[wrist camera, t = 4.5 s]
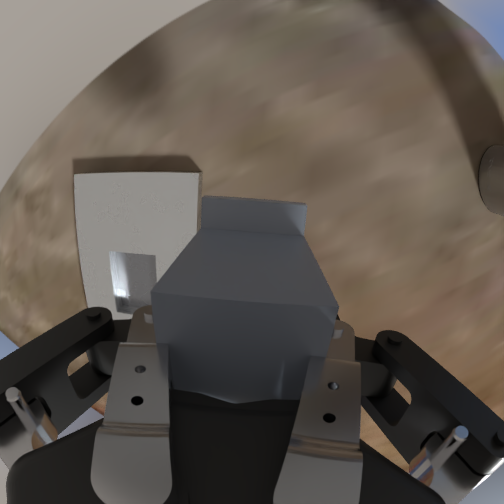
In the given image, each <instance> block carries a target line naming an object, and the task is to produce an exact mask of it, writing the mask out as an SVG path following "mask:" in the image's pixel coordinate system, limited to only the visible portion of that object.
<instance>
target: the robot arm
mask: <svg viewBox="0 0 504 504" xmlns="http://www.w3.org/2000/svg"><path fill="white" fill-rule="evenodd" d="M479 187H480V192H481V196H482V199H483V201H484V203H485V205H486V207H487V208H488V209H489V210H490V211H492V212H493V213H496V214H499V215H501V216H504V146H500V145H494V146H491V147H490V148H488V150H487V151H486V152H485V154H484V156H483V158H482V161H481V164H480V170H479ZM84 352H86V353H87V357H88V360H89V362H88V363H87V364H85V365H84V366H82V367H81V368H80V369H78V370H77V371H76V372H74V373H73V374H72V375H70V376H69V377H68V374H67V368H68V366H69V364H70V363H71V362H72V361H73V360H74V359H76V358H77V357H78V356H80V355H81V354H83V353H84ZM397 379H398V380H399V381H400V382H401V383H402V384H403V385H404V386H405V387H406V388H407V389H408V390H409V392H410V394H411V398H412V400H411V404H410V405H409V404H408V403H407V402H406V400H405V399H404V398H403V397H402V396H401V395H400V394H399V393H398V392H397V391H396V390H395V389H394V388H393V387H394V385H395V383H396V381H397ZM108 391H109V392H108ZM107 392H108V397H107V403H106V408H105V414H104V418H102V419H100V420H98V421H96V422H94V423H92V424H90V425H88V426H86V427H84V428H82V429H80V430H77V431H75V432H73V433H71V434H69V435H67V436H65V437H62V438H60V439H58V440H57V437H58V435H59V434H60V433H61V432H62V431H63V430H64V429H66V428H67V427H68V426H69V425H70V424H71V423H72V422H74V421H75V420H76V419H77V418H78V417H79V416H80V415H82V414H83V413H84V412H85V411H86V410H88V409H89V408H90V407H91V406H92V405H93V404H94V403H96V402H97V401H98V400H99V399H100V398H101V397H102V396H104V395H105V394H106V393H107ZM361 405H362V407H363V408H364V409H365V410H366V412H367V413H368V414H369V415H370V417H371V418H372V419H373V420H374V422H375V423H376V424H377V425H378V427H379V428H380V429H381V430H382V432H383V433H384V434H385V435H386V437H387V438H388V439H389V440H390V442H391V443H392V444H393V445H394V447H395V448H396V449H397V450H398V452H399V453H400V454H401V455H402V456H403V458H404V459H405V460H406V461H407V463H408V464H409V473H410V474H408V473H407V472H405V471H404V470H403V469H401V468H400V467H398V466H397V465H395V464H394V463H392V462H391V461H390V460H388V459H387V458H385V457H384V456H383V455H381V454H380V453H379V452H377V451H376V450H374V449H373V448H372V447H370V446H369V445H368V444H366V443H365V442H364V441H362V440H361V439H360V419H361ZM0 458H1V459H2V461H3V462H4V463H5V465H6V466H7V467H8V469H9V473H8V476H7V482H6V492H7V504H458V503H459V502H460V501H461V500H462V499H463V498H464V497H465V496H466V495H467V494H468V493H470V492H471V491H472V490H473V489H474V488H476V487H477V486H478V485H480V484H481V483H482V482H483V481H484V480H485V479H487V478H488V477H489V476H490V475H491V474H492V473H493V472H494V471H496V470H497V469H498V468H499V467H500V466H501V465H502V464H503V463H504V421H503V420H502V419H501V418H500V417H498V416H497V415H496V414H495V413H494V412H493V411H492V410H491V409H490V408H489V407H488V406H486V405H485V404H484V403H483V402H482V401H481V400H480V399H479V398H478V397H476V396H475V395H474V394H473V393H472V392H471V391H470V390H469V389H467V388H466V387H465V386H464V385H463V384H462V383H461V382H459V381H458V380H457V379H456V378H455V377H454V376H453V375H451V374H450V373H449V372H448V371H447V370H446V369H444V368H443V367H442V366H441V365H440V364H439V363H437V362H436V361H435V360H434V359H433V358H432V357H430V356H429V355H428V354H427V353H426V352H425V351H423V350H422V349H421V348H420V347H419V346H417V345H416V344H415V343H414V342H413V341H411V340H410V339H409V338H408V337H407V336H405V335H404V334H402V333H399V332H397V331H392V330H385V331H381V332H379V333H378V334H377V336H376V339H375V341H373V340H368V339H363V338H359V337H356V336H355V335H354V329H353V328H352V327H351V326H350V325H349V324H347V323H346V322H343V321H340V319H339V316H338V314H337V317H336V321H335V325H334V329H333V333H332V337H331V341H330V345H329V348H328V352H327V355H326V357H321V356H312V355H311V356H310V360H309V364H308V368H307V372H306V376H305V380H304V384H303V387H302V391H301V395H300V398H299V400H282V399H269V400H262V401H254V402H246V403H230V402H227V401H223V400H220V399H217V398H214V397H210V396H207V395H204V394H201V393H197V392H190V391H183V390H177V389H175V388H174V381H173V374H172V367H171V359H170V351H169V344H168V343H156V338H155V330H154V322H153V314H152V305H147V306H143V307H141V308H138V309H137V310H136V311H135V312H134V313H133V316H132V319H122V320H113V318H112V313H111V311H110V310H109V309H107V308H104V307H90V308H87V309H84V310H82V311H81V312H79V313H77V314H76V315H74V316H72V317H70V318H69V319H67V320H65V321H64V322H62V323H60V324H58V325H57V326H55V327H53V328H52V329H50V330H48V331H47V332H45V333H43V334H42V335H40V336H38V337H37V338H35V339H33V340H32V341H30V342H28V343H27V344H25V345H24V346H22V347H20V348H19V349H17V350H16V351H14V352H12V353H11V354H9V355H7V356H6V357H4V358H3V359H1V360H0Z"/></svg>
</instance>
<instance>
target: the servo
mask: <svg viewBox="0 0 504 504" xmlns="http://www.w3.org/2000/svg"><path fill="white" fill-rule="evenodd" d="M306 213H307V205H306V204H305V203H299V202H289V201H277V200H265V199H253V198H239V197H223V196H203V197H202V209H201V229H200V230H199V231H198V232H197V233H196V235H195V236H194V237H193V238H192V239H191V241H190V242H189V243H188V244H187V246H186V247H185V248H184V249H183V251H182V252H181V253H180V254H179V256H178V257H177V258H176V259H175V261H174V262H173V263H172V264H171V266H170V267H169V268H168V269H167V271H166V272H165V273H164V274H163V276H162V277H161V278H160V280H159V281H158V282H157V283H156V285H155V286H154V287H153V289H152V290H151V291H150V294H151V304H152V314H153V322H154V330H155V338H156V343H168V344H169V351H170V359H171V367H172V374H173V381H174V388H175V389H177V390H183V391H190V392H197V393H201V394H204V395H207V396H210V397H214V398H217V399H220V400H223V401H227V402H230V403H246V402H254V401H262V400H269V399H282V400H299V398H300V395H301V391H302V387H303V384H304V380H305V376H306V372H307V368H308V364H309V360H310V356H311V355H312V356H321V357H326V355H327V352H328V348H329V345H330V341H331V337H332V333H333V329H334V325H335V321H336V317H337V313H338V309H339V306H338V304H337V301H336V299H335V297H334V295H333V293H332V291H331V289H330V287H329V285H328V283H327V281H326V279H325V277H324V275H323V273H322V271H321V269H320V267H319V265H318V263H317V261H316V259H315V257H314V255H313V253H312V251H311V249H310V247H309V245H308V243H307V241H306V239H305V237H304V229H305V221H306Z"/></svg>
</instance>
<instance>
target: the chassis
mask: <svg viewBox="0 0 504 504" xmlns="http://www.w3.org/2000/svg"><path fill="white" fill-rule="evenodd" d="M201 192H202V172H180V171H118V172H90V173H79V174H74V194H75V215H76V228H77V239H78V248H79V256H80V264H81V271H82V277H83V283H84V289H85V294H86V300H87V305H88V308H90V307H104V308H107V309H109V310H110V311H111V313H112V318H113V320H122V319H132V316H133V313H134V312H135V311H136V310H137V309H138V308H141V307H143V306H147V305H152V304H151V294H150V291H151V290H152V289H153V287H154V286H155V285H156V283H157V282H158V281H159V280H160V278H161V277H162V276H163V274H164V273H165V272H166V271H167V269H168V268H169V267H170V266H171V264H172V263H173V262H174V261H175V259H176V258H177V257H178V256H179V254H180V253H181V252H182V251H183V249H184V248H185V247H186V246H187V244H188V243H189V242H190V241H191V239H192V238H193V237H194V236H195V235H196V233H197V232H198V231H199V230H200V219H201Z"/></svg>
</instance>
